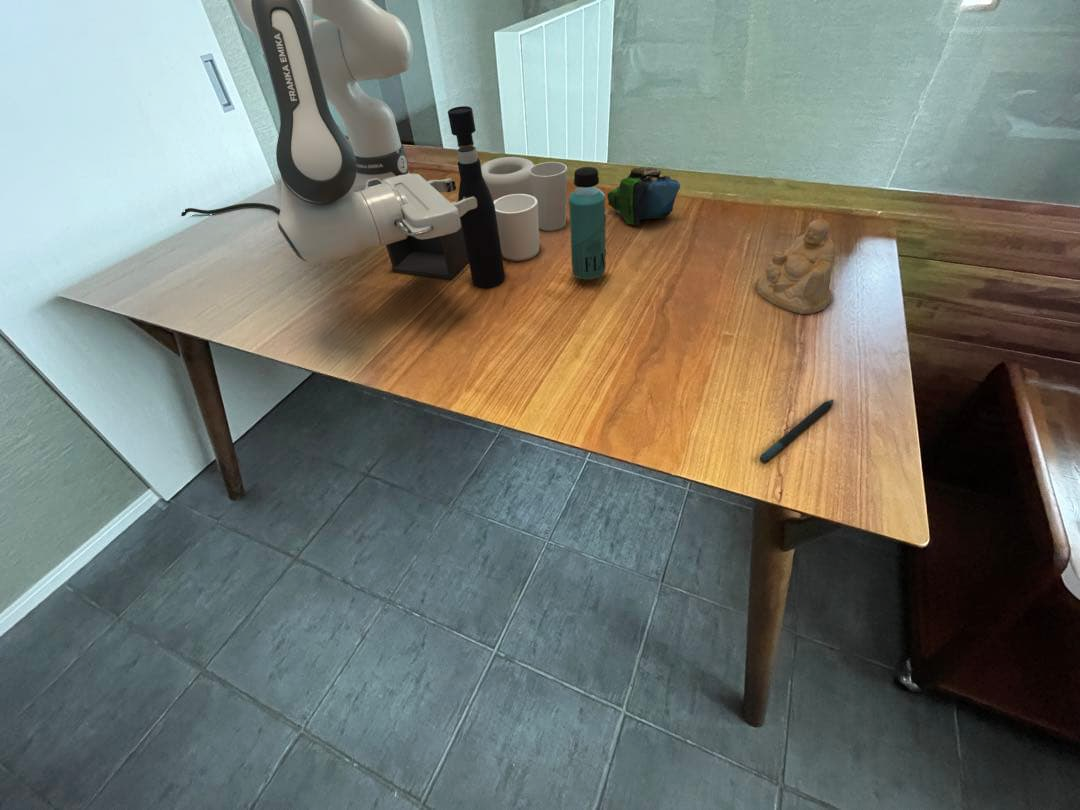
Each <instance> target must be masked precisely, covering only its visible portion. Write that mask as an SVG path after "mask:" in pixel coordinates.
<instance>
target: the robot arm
mask: <svg viewBox="0 0 1080 810" xmlns="http://www.w3.org/2000/svg"><path fill="white" fill-rule="evenodd" d="M230 1H231V4H232V6H233V8H234V10H235V13H236V15H237V17H238V19H239V21H240V23H241V24H242V25H243V27H244V28H245V29H246V30H247V31H249V32H250V33H251V34H252V35H253V36H254V38H255V39H256V41H257V42H258V45H259V47H260V48H261V49H260V50H261V51H262V54H263V57H264V60H265V63H266V67H267V71H268V75H269V79H270V82H271V87H272V90H273V94H274V98H275V101H276V104H277V105H276V106H277V108H278V109H277V110H278V113H279V114H278V115H279V122H280V124H279V125H280V126H279V133H278V137H277V143H276V150H275V151H276V152H275V156H276V157H275V158H276V164H277V169H278V171H279V174H280V182H281V183H280V184H281V199H280V200H281V201H280V208H279V207H277V206H275V205H272V204H268V203H261V202H244V203H238V204H232V205H228V206H224V207H220V208H215V209H199V208H196V207H195V208H194V207H187V208H185V209H184V210H185V212H183V211H182V212H181V215H180V216H181V217H185V216H187V214H188V213H198V214H203V215H213V214H220V213H223V212H228V211H231V210H236V209H241V208H254V207H255V208H263V209H265V208H266V209H270V210H273V211H275V212H277V213H278V214H279V215H278V217H277V220H276V221H277V226H278V229H279V231H280V233H281V235H282V236H283V238H284V239H285V241H286V242H287V244H288V245H289V247H290V248H291V250H292V251H293V252H294V253H295V255H296V256H297V258H299V259H300V260H302V261H304V262H305V263H308V264H323V263H330V262H334V261H337V260H342V259H344V258H348V257H352V256H355V255H357V254H358V253H359V252H361V251H363V250H366V249H372V248H373V249H374V248H380V247H384V246H386V245H387V244H391V243H394V242H397V241H400V240H404V239H406V238H407V236H409V235H410V236H413V237H415V238H417V239H430V238H435V237H439V236H443V235H447V234H451V233H455V232H457V231H458V230H459V229H460V228H461V222H460V217H461V216H463V215H464V214H465V213H466V212H467V211H468V210H472V209H475V208H477V199H476V198H475V197H474V196H472V195H469V196H465V197H463V200H461V201H459V202H458V201H450V200H449V199H448V198H446V197H445V196H444V195H443V194H442V193H443V192H446V193H451V192H454V191H456V190H457V186H456V181H455V180H454V179H452V178H451V177H448V178H445V179H429V180H426V179H425V178H424V177H423V176H421V175H420V174H419V173H411V172H410V169H409V164H408V163H409V161H408V158H407V154H406V149H405V146H404V144H403V143H402V142H401V139H400V134H399V131H398V126H397V123H396V118H395V114H394V111H392V110H393V109H392V108H391V107H390V106H389V104H387V103H386V102H385V101H383V100H381V99H379V98H376V97H374V96H371V95H369V94H367V93H366V92H365V91H364V90H363V89H362V88H361V86H360V85H359V83H358V82H363V81H373V80H381V79H388V78H391V77H394V76H397V75H399V74H403V73H404V72H407V71H408V70H409V68H410V66H411V64H412V62H413V56H414V45H413V41H412V37H411V34H410V31H409V30H408V28H407V26H406V25H405V23H404V22H403V21H402V20H401V19H400V18H399V17H398V16H396V15H394V14H392V13H390V12H388V11H387V10H384V9H383V8H382V7H380V5H377V4H376V3H375V2H374V1H373V0H230ZM314 16H317V17H319V18H321V19H314ZM328 102H329V104H330V105H331V107H333V109H334V110H335V112H336V113H337V115H338V117H339V118H340V121H341V123H342V125H343V127H344V130H345V133H346V135H347V137H346V136H345V134H344V132H343V131H342V130H341V128H340V127H339V125H338V124H337V122H336V120H335V119H334V117H333V115H332V113H331V110H330V107H329V104H328ZM347 138H348V139H347Z"/></svg>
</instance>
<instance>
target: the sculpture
mask: <svg viewBox="0 0 1080 810" xmlns="http://www.w3.org/2000/svg"><path fill="white" fill-rule="evenodd" d="M661 174H662V169H660V168H656V167H651V166H648V167H646V166H642V167H641V166H640V167H637V168H636V167H633V168H632V169H631V170H630V173H629V175H628V176H627V177H624V178H622V179H621V180H620V182H619V186H617V187H615V189H613V190H610V191H609V192H607V195H606V196H607V201H608V203H607V204H608V206H610V207H611V208H612V209H613V210H614V211H615V212H617V213H618V214H621V217H622V218H623V219H624V221H625V225H635V226H636V225H640V220H650V219H658V218H667V217H668V216H669V215H670V214H671V213H672V212H673V210H674V204H675V202H676V198H677V196H678V193H679V191H680V189H681V183H680V182H679V181H678V180H677V179H672V176H670V175H669V174H664V175H662V176H660V175H661Z"/></svg>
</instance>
